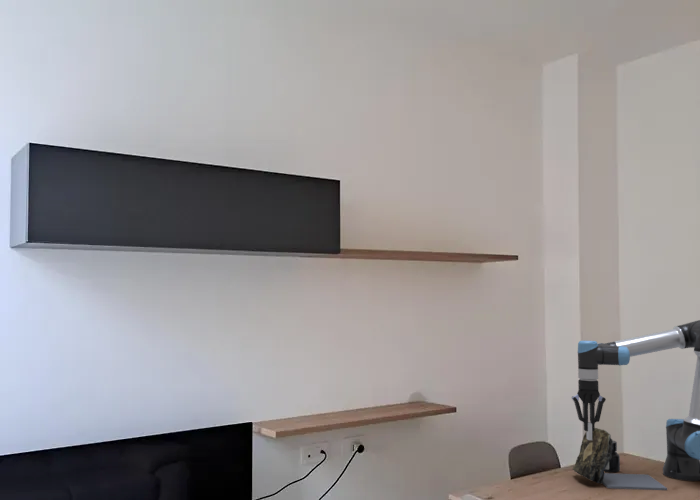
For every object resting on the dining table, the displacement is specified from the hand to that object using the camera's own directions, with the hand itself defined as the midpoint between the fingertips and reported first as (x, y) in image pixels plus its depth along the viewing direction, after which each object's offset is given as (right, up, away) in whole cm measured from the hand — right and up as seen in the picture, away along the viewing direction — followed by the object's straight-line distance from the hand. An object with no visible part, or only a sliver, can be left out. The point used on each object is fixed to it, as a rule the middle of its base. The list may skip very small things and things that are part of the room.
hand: (589, 439), depth 253 cm
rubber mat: (+15, -17, -2) cm, 22 cm away
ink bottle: (+14, -18, +16) cm, 28 cm away
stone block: (-3, -15, -1) cm, 15 cm away
